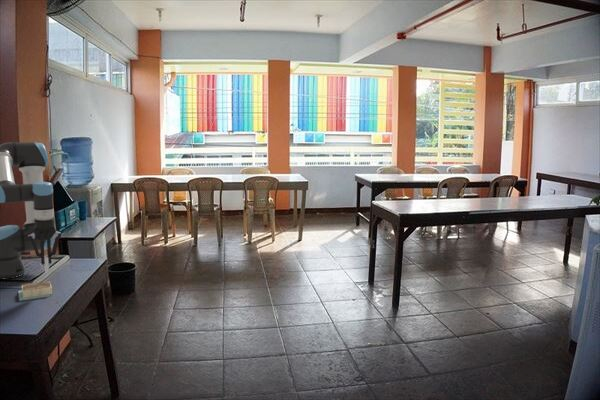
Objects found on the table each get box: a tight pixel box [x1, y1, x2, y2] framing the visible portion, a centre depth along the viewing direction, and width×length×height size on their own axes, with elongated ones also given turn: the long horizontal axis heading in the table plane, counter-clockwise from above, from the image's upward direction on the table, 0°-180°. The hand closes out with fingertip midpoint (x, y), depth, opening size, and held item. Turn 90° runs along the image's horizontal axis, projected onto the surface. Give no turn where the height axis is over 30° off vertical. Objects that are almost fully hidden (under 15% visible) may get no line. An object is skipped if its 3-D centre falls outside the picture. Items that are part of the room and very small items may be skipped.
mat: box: [18, 289, 51, 302], centre depth 205 cm, size 11×12×1 cm
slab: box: [21, 280, 53, 298], centre depth 206 cm, size 8×3×11 cm
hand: (46, 270), depth 206 cm, fingers closed
